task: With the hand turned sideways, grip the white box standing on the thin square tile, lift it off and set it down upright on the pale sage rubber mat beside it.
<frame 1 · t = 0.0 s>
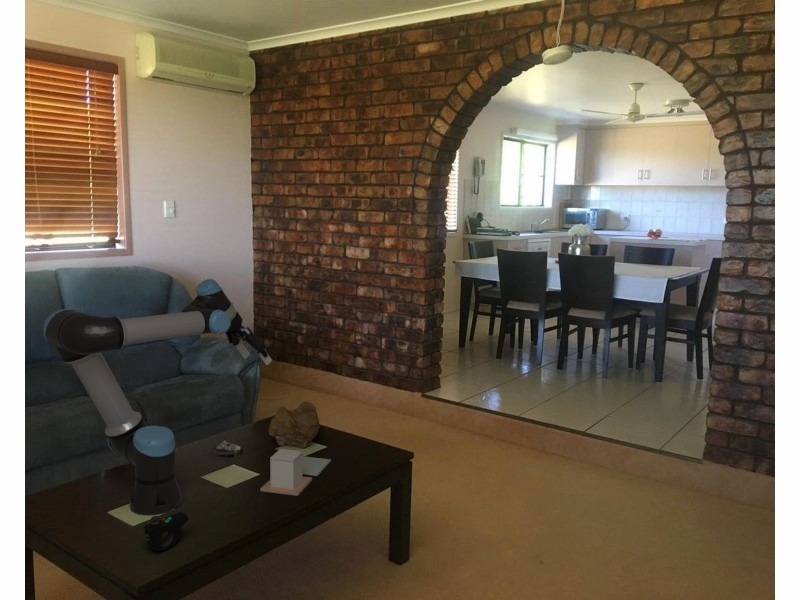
hand: (258, 359, 241), 36 cm above the table, tool tilted 35°, fingers open, 13 cm apart
log: (227, 454, 245), on the table
rough brown rock: (299, 443, 256), on the table
mat: (305, 466, 233), on the table
white box: (286, 483, 217), point 1 cm above the table, touching thin square tile
controller: (167, 548, 176), on the table
thin square tile: (286, 485, 217), on the table
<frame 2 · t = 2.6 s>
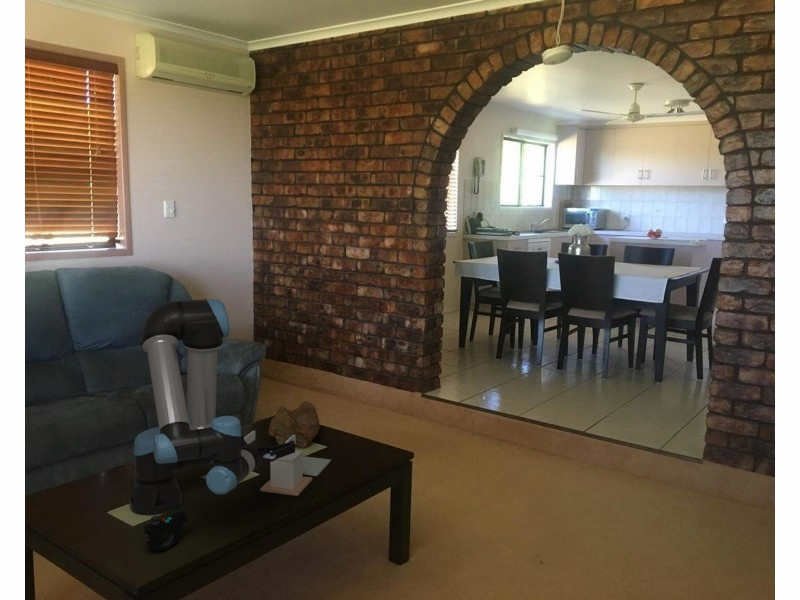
hand: (274, 436, 205), 20 cm above the table, tool horizontal, fingers open, 13 cm apart
nothing on the table moved.
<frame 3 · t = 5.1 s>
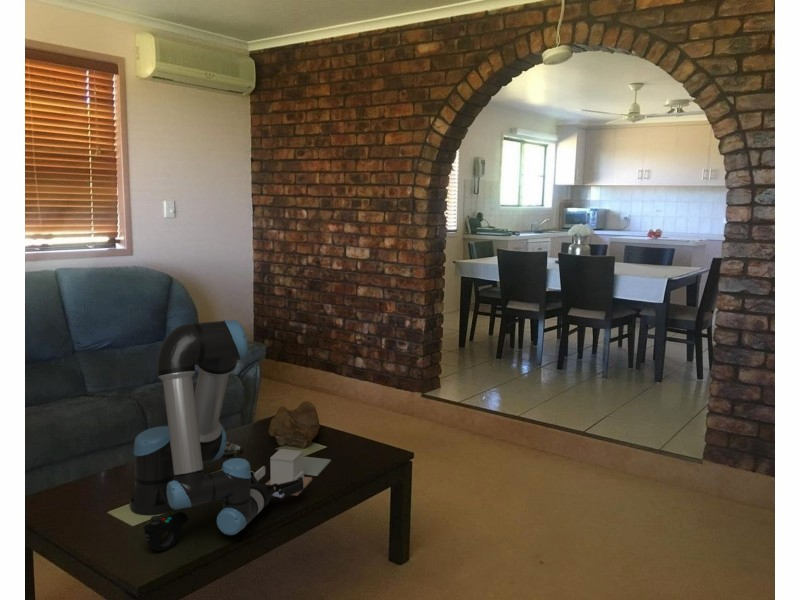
hand: (283, 472, 211), 6 cm above the table, tool horizontal, fingers open, 13 cm apart
nothing on the table moved.
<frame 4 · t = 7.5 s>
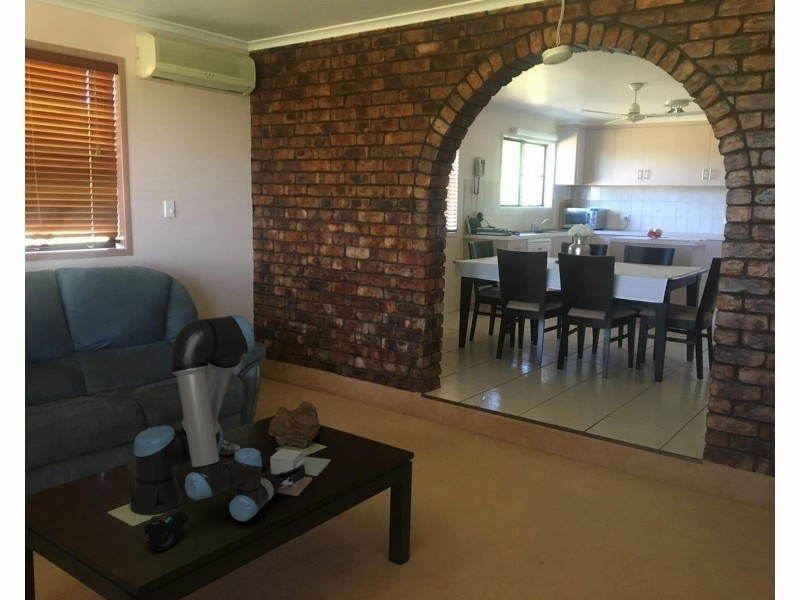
hand: (292, 461, 221), 6 cm above the table, tool horizontal, fingers closed on white box, 8 cm apart
white box: (286, 483, 217), point 1 cm above the table, touching thin square tile, gripper
everything else where it was.
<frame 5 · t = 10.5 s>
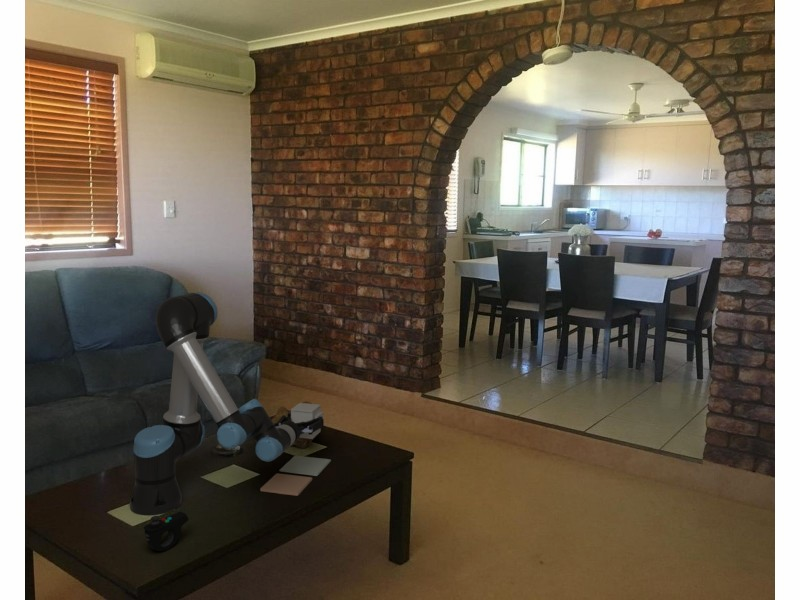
hand: (310, 414, 235), 18 cm above the table, tool horizontal, fingers closed on white box, 8 cm apart
white box: (305, 434, 232), point 12 cm above the table, touching gripper
everything else where it was.
when the fingers open (7 cm above the table, at t = 13.6 s): white box drops 1 cm, resting on mat.
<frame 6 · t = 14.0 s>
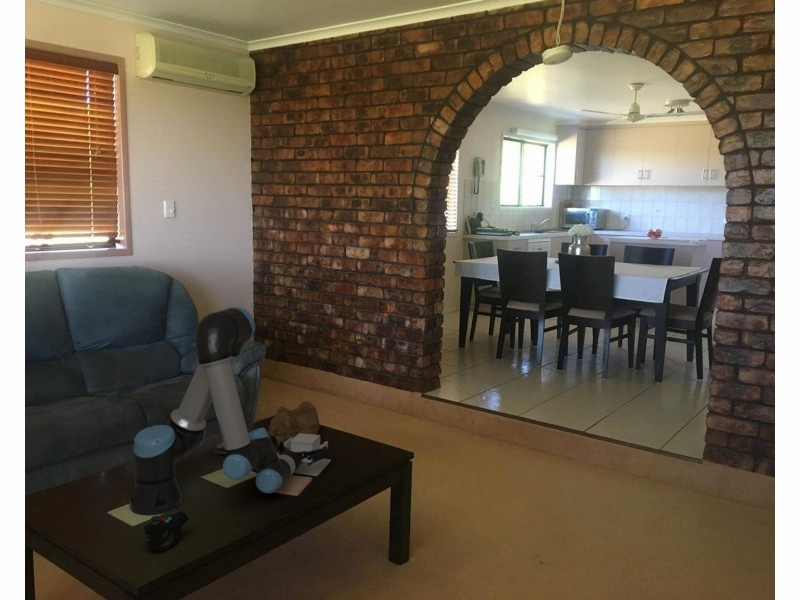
hand: (309, 442, 236), 8 cm above the table, tool horizontal, fingers open, 13 cm apart
white box: (305, 464, 233), point 1 cm above the table, touching mat
everything else where it was.
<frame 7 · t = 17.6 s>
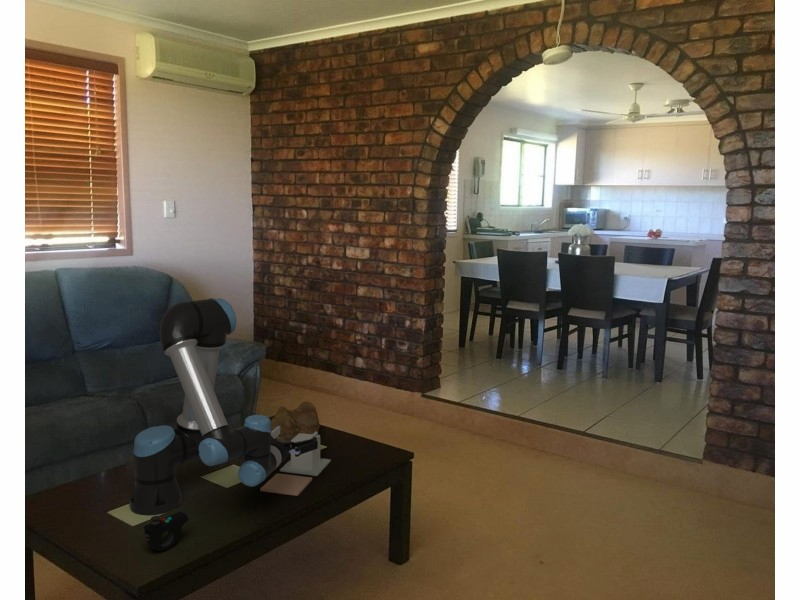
hand: (297, 432, 221), 16 cm above the table, tool horizontal, fingers open, 13 cm apart
nothing on the table moved.
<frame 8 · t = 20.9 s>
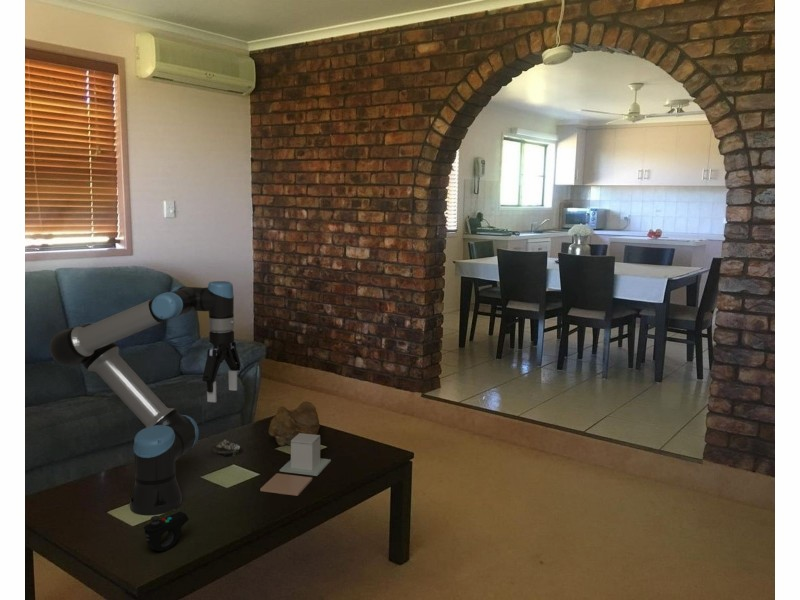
hand: (222, 395, 208), 32 cm above the table, tool pointing down, fingers open, 13 cm apart
at the end: white box inside the target area (0.1 cm from its centre), point 0.6 cm above the table; white box tilted 0°; the gripper is holding nothing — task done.
